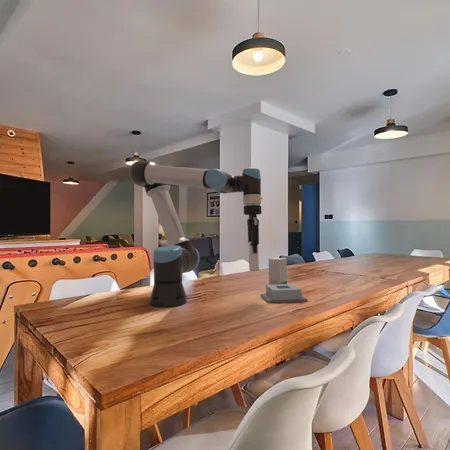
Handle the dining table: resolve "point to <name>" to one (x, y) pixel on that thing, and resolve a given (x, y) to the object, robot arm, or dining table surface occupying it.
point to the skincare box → (277, 271)
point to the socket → (283, 294)
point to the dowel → (255, 264)
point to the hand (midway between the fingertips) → (253, 260)
